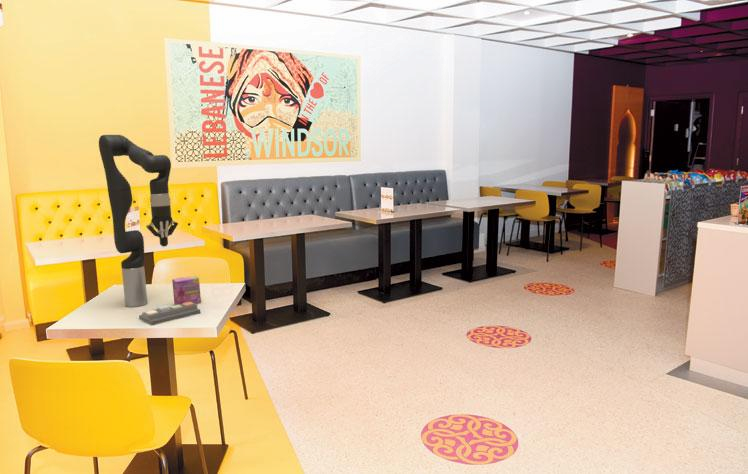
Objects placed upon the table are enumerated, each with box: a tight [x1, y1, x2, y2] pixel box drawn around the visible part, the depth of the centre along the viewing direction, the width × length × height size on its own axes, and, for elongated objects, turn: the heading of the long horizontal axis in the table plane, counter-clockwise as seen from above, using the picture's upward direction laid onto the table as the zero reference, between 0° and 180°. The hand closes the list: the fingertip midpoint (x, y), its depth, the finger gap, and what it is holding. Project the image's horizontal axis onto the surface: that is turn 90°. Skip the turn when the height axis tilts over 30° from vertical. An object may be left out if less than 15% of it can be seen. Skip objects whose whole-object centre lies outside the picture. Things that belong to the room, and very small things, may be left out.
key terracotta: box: [182, 302, 194, 307], centre depth 237 cm, size 4×4×2 cm
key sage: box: [169, 304, 183, 310], centre depth 234 cm, size 4×4×2 cm
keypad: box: [138, 302, 201, 326], centre depth 233 cm, size 12×21×3 cm, turn 135°
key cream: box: [145, 309, 158, 315], centre depth 227 cm, size 4×4×2 cm
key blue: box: [156, 304, 171, 312], centre depth 230 cm, size 4×4×2 cm
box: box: [171, 275, 202, 305], centre depth 249 cm, size 10×6×12 cm, turn 126°
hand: (164, 246), depth 231 cm, fingers closed
